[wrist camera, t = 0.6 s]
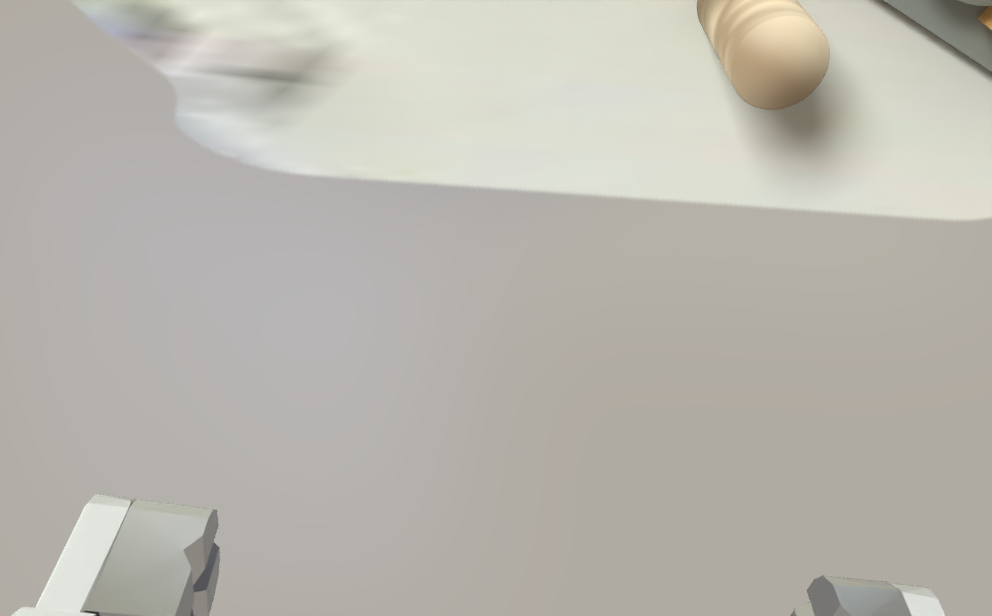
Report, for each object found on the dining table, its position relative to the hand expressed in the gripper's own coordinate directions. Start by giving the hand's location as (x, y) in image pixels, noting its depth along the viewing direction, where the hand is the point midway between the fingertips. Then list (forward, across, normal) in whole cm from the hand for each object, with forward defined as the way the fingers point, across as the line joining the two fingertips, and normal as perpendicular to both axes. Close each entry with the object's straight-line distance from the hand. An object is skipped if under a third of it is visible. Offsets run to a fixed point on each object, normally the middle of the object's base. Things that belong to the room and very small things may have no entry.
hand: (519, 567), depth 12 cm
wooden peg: (+41, -14, +3) cm, 43 cm away
